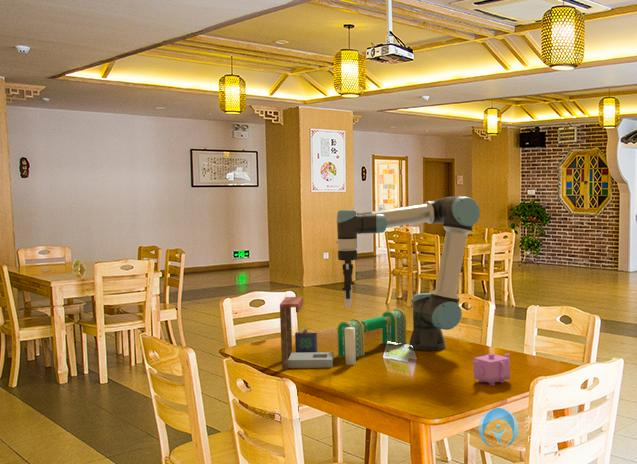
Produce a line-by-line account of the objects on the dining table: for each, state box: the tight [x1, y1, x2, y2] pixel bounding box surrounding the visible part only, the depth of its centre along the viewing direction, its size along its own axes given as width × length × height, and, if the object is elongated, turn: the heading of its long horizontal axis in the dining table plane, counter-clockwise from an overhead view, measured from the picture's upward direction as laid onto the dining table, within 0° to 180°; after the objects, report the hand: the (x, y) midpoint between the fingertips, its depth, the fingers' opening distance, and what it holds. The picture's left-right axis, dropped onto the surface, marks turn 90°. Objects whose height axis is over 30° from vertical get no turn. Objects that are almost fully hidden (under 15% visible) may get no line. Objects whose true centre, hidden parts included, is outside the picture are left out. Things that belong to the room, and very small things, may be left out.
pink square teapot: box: [472, 353, 511, 386], centre depth 233 cm, size 18×13×10 cm
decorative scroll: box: [336, 308, 408, 358], centre depth 286 cm, size 36×8×15 cm, turn 136°
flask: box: [294, 327, 319, 353], centre depth 282 cm, size 9×3×11 cm, turn 88°
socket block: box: [288, 351, 335, 369], centre depth 265 cm, size 17×12×3 cm
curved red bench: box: [279, 296, 304, 371], centre depth 265 cm, size 7×18×25 cm, turn 176°
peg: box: [344, 327, 357, 366], centre depth 262 cm, size 4×4×14 cm
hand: (348, 304), depth 261 cm, fingers open, 13 cm apart
